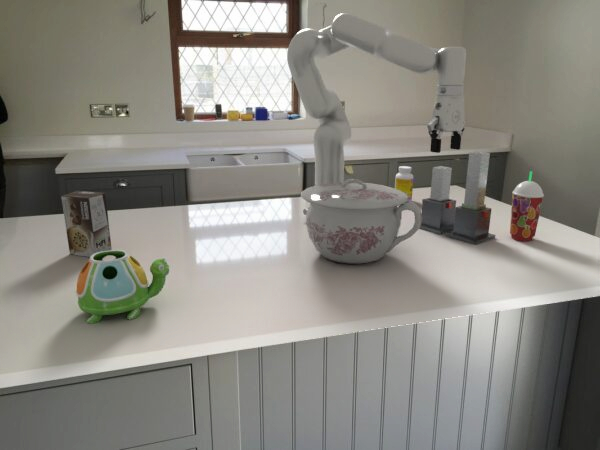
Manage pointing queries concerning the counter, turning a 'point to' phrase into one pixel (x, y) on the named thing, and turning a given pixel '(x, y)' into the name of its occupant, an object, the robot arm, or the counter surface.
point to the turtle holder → (117, 284)
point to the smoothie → (525, 210)
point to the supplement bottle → (405, 181)
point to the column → (440, 184)
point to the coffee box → (86, 222)
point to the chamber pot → (356, 220)
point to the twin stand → (474, 204)
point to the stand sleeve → (438, 216)
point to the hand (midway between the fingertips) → (445, 150)
